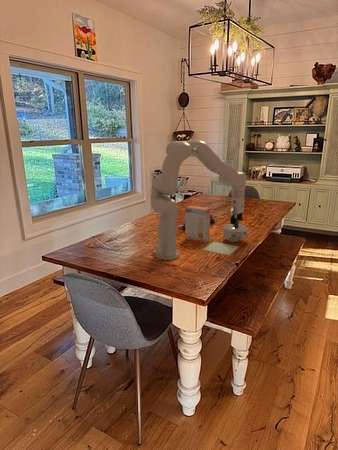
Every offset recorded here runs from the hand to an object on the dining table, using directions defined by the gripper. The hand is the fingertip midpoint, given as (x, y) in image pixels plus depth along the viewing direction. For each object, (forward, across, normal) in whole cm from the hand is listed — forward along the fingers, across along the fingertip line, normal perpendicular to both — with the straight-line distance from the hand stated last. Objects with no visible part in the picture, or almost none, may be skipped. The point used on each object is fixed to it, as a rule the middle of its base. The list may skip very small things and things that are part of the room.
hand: (236, 221), depth 188 cm
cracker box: (+12, -11, +20) cm, 26 cm away
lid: (+4, 0, 0) cm, 4 cm away
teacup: (+12, 0, 0) cm, 12 cm away
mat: (+12, -16, +2) cm, 20 cm away
